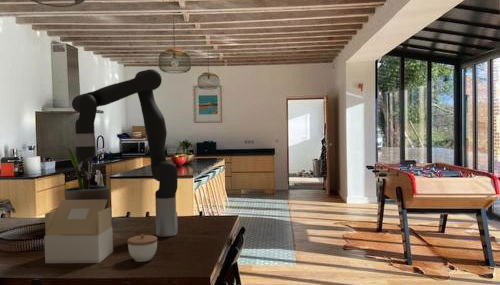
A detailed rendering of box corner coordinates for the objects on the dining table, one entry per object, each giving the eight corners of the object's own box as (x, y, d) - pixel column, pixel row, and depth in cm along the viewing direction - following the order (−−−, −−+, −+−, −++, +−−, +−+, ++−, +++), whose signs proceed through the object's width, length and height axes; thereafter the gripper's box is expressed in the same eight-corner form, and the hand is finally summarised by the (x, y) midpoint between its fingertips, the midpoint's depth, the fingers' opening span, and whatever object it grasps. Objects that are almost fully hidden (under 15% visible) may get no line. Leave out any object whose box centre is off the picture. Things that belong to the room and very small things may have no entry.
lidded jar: (133, 255, 162) (132, 230, 162) (160, 254, 162) (160, 230, 162) (124, 264, 152) (123, 238, 151) (153, 263, 151) (152, 237, 151)
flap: (107, 200, 165) (106, 199, 164) (95, 234, 153) (94, 233, 152) (62, 201, 166) (61, 199, 165) (46, 234, 154) (46, 233, 153)
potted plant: (79, 220, 227) (77, 146, 226) (117, 221, 224) (115, 146, 223) (56, 230, 207) (54, 148, 205) (98, 230, 204) (95, 147, 202)
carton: (113, 251, 168) (112, 206, 167) (99, 262, 153) (97, 213, 153) (64, 251, 169) (62, 206, 168) (45, 263, 154) (43, 214, 154)
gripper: (87, 145, 160) (88, 191, 160) (101, 144, 173) (102, 186, 173) (68, 146, 160) (69, 191, 161) (83, 144, 173) (84, 186, 174)
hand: (86, 188), depth 167 cm, fingers closed
